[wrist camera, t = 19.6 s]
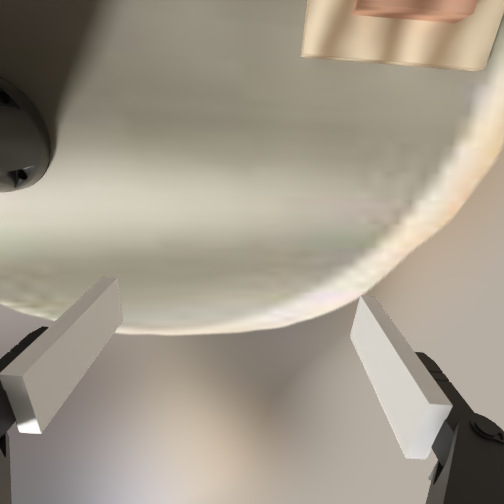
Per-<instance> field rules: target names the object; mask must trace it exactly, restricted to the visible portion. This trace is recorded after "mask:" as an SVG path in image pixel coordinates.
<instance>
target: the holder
mask: <svg viewBox="0 0 504 504" xmlns="http://www.w3.org/2000/svg"><path fill="white" fill-rule="evenodd" d="M503 13H504V0H308V1H307V9H306V18H305V26H304V35H303V43H302V52H301V57H310V58H322V59H335V60H347V61H359V62H371V63H383V64H395V65H407V66H420V67H432V68H444V69H456V70H468V71H478V70H482V69H485V67H486V64H487V61H488V58H489V55H490V52H491V49H492V46H493V43H494V40H495V37H496V34H497V31H498V28H499V25H500V22H501V19H502V16H503Z"/></svg>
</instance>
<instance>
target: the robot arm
mask: <svg viewBox="0 0 504 504" xmlns="http://www.w3.org/2000/svg"><path fill="white" fill-rule="evenodd" d="M49 158H50V143H49V137H48V134H47V130H46V127H45V125H44V123H43V120H42V119H41V117H40V115H39V113H38V112H37V110H36V108H35V107H34V106H33V104H32V103H31V102H30V101H29V100H28V99H27V97H26V96H25V95H24V94H23V93H22V92H20V91H19V90H18V89H17V88H16V87H14V86H13V85H12V84H10V83H9V82H7V81H5V80H3V79H1V78H0V192H11V191H16V190H20V189H24V188H27V187H29V186H31V185H33V184H35V183H36V182H37V181H38V180H39V179H40V178H41V177H42V176H43V174H44V173H45V171H46V169H47V166H48V163H49ZM122 321H123V316H122V308H121V300H120V292H119V284H118V278H113V277H103V278H102V279H100V280H99V281H98V282H97V283H96V284H95V285H94V286H93V287H92V288H91V289H90V290H89V291H88V292H86V293H85V294H84V295H83V296H82V297H81V298H80V299H79V300H78V301H77V302H76V303H75V304H74V305H72V306H71V307H70V308H69V309H68V310H67V311H66V312H65V313H64V314H63V315H62V316H61V317H60V318H58V319H57V320H56V321H55V322H54V323H53V324H52V325H51V326H50V327H41V328H39V329H37V330H36V331H33V332H32V333H30V334H28V335H27V336H26V337H25V338H24V339H23V340H21V342H19V344H18V345H16V346H15V347H14V348H12V349H11V350H10V352H8V353H7V354H6V355H4V356H3V357H2V358H1V359H0V504H11V475H10V449H9V437H8V434H7V430H8V429H9V428H10V427H11V426H12V425H13V423H14V422H15V421H16V424H17V426H18V429H19V432H21V433H22V432H23V433H37V434H41V433H42V432H43V431H44V429H45V428H46V427H47V425H48V424H49V422H50V421H51V420H52V418H53V417H54V415H55V414H56V413H57V411H58V410H59V408H60V407H61V406H62V404H63V403H64V402H65V400H66V399H67V397H68V396H69V395H70V393H71V392H72V390H73V389H74V388H75V386H76V385H77V383H78V382H79V381H80V379H81V378H82V377H83V375H84V374H85V372H86V371H87V370H88V368H89V367H90V365H91V364H92V363H93V361H94V360H95V359H96V357H97V356H98V354H99V353H100V352H101V350H102V349H103V347H104V346H105V345H106V343H107V342H108V340H109V339H110V338H111V336H112V335H113V334H114V332H115V331H116V329H117V328H118V327H119V325H120V324H121V322H122ZM350 337H351V340H352V342H353V344H354V346H355V348H356V351H357V353H358V355H359V357H360V359H361V361H362V364H363V366H364V368H365V370H366V373H367V375H368V377H369V379H370V381H371V383H372V386H373V388H374V390H375V392H376V394H377V396H378V399H379V401H380V403H381V405H382V407H383V410H384V412H385V414H386V416H387V419H388V420H389V423H390V425H391V427H392V430H393V432H394V434H395V436H396V438H397V441H398V443H399V445H400V447H401V449H402V451H403V454H404V456H405V458H414V459H427V457H428V455H429V453H430V451H431V449H433V451H434V453H435V455H436V457H437V458H438V461H437V464H436V465H435V467H434V469H433V471H432V473H431V475H430V477H429V480H431V485H430V489H429V493H428V497H427V501H426V504H504V431H503V430H502V429H501V428H500V427H499V426H497V425H496V424H495V423H494V422H492V421H491V420H489V419H488V418H486V417H484V416H482V415H479V414H477V413H474V412H473V410H472V409H471V408H470V407H469V405H468V404H467V403H466V402H465V400H464V399H463V398H462V396H461V395H460V394H459V393H458V391H457V390H456V389H455V387H454V386H453V385H452V383H451V382H449V380H448V378H447V377H446V376H445V374H443V373H442V371H441V369H440V368H439V367H438V365H437V364H436V363H435V362H434V361H433V360H432V359H431V358H429V357H428V356H427V355H426V354H424V353H421V352H414V351H413V349H412V348H411V347H410V345H409V344H408V342H407V341H406V340H405V338H404V337H403V335H402V334H401V333H400V331H399V330H398V329H397V327H396V326H395V324H394V323H393V321H392V320H391V319H390V317H389V316H388V314H387V313H386V312H385V310H384V309H383V308H382V306H381V305H380V303H379V302H378V301H377V299H376V298H375V297H373V296H360V300H359V304H358V308H357V311H356V316H355V320H354V323H353V327H352V331H351V335H350Z"/></svg>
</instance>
